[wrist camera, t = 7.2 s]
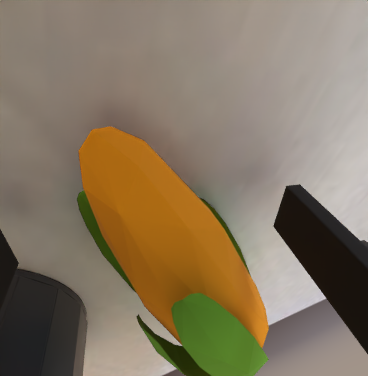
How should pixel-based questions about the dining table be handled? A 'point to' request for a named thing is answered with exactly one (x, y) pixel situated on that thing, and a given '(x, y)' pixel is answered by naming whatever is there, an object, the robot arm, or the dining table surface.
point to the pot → (41, 328)
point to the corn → (172, 257)
